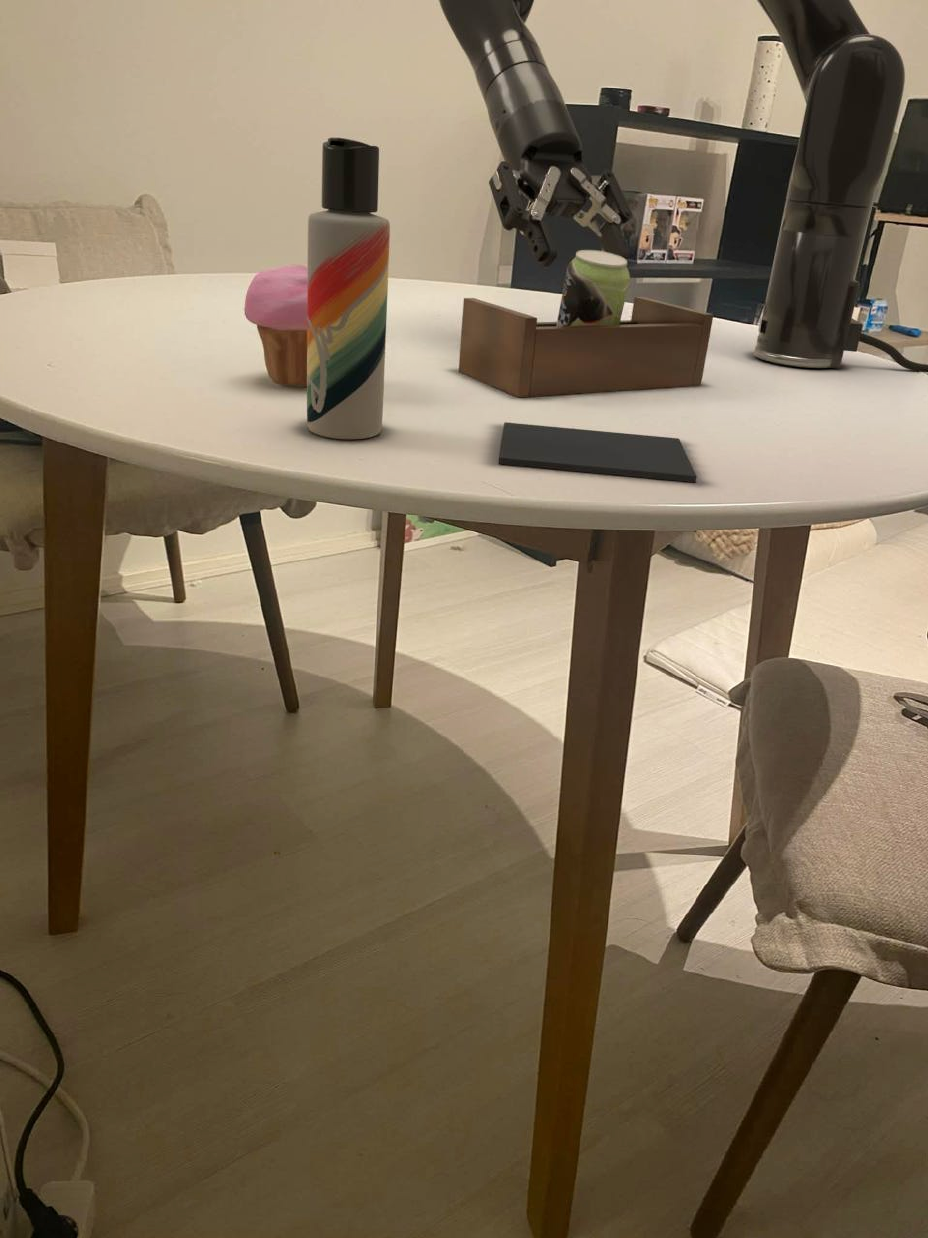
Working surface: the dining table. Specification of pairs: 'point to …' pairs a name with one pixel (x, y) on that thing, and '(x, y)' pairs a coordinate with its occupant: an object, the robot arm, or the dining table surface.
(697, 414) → the dining table surface
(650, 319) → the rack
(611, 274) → the beverage can
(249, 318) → the cupcake
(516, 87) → the robot arm
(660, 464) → the mat
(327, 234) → the lotion bottle
